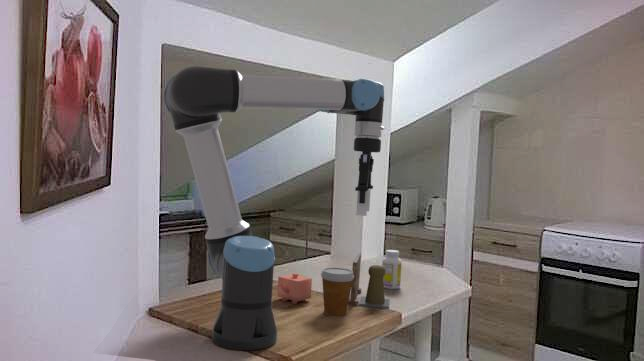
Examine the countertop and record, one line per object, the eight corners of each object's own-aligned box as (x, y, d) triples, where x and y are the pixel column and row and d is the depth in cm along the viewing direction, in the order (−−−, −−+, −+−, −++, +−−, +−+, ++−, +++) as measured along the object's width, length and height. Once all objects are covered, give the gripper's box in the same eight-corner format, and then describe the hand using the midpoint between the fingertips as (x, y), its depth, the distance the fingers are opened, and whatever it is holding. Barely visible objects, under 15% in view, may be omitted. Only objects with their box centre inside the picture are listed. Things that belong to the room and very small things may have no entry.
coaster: (358, 305, 158) (359, 303, 158) (360, 298, 167) (361, 296, 167) (388, 308, 157) (389, 306, 157) (389, 300, 166) (389, 298, 166)
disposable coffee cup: (312, 309, 150) (314, 268, 150) (338, 306, 156) (341, 266, 156) (331, 319, 143) (334, 275, 142) (358, 315, 148) (361, 273, 148)
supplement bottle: (396, 285, 188) (398, 249, 187) (402, 289, 181) (405, 252, 181) (378, 284, 186) (380, 248, 186) (384, 289, 180) (386, 252, 179)
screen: (347, 304, 158) (349, 262, 157) (352, 290, 176) (354, 252, 175) (357, 305, 157) (359, 262, 157) (361, 291, 175) (363, 252, 175)
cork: (371, 297, 166) (374, 262, 166) (388, 301, 162) (390, 266, 162) (361, 300, 161) (363, 265, 161) (378, 305, 158) (380, 268, 157)
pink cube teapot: (269, 301, 157) (271, 274, 157) (295, 294, 166) (297, 269, 166) (289, 307, 152) (291, 279, 152) (314, 300, 162) (316, 273, 161)
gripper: (379, 136, 135) (374, 218, 135) (382, 140, 159) (378, 210, 160) (350, 134, 136) (345, 216, 137) (357, 139, 160) (353, 208, 161)
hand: (363, 213), depth 148 cm, fingers open, 13 cm apart
